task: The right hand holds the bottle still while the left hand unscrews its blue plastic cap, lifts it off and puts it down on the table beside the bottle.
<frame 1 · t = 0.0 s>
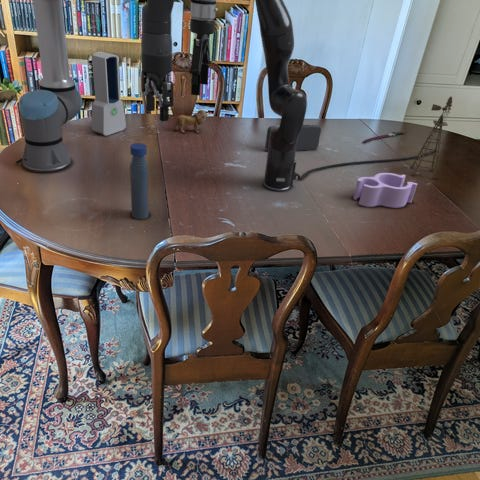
left hand: (199, 89, 153), 28 cm above the table, tool pointing down, fingers open, 13 cm apart
right hand: (157, 115, 124), 29 cm above the table, tool pointing down, fingers open, 8 cm apart
miniature windmill: (422, 173, 183), on the table
bottle: (140, 215, 137), on the table
lion figurine: (189, 131, 199), on the table
electronic device: (108, 131, 190), on the table
handheld gaming console: (291, 150, 191), on the table
clip: (381, 199, 160), on the table
cap: (138, 147, 125), point 21 cm above the table, screwed on, not yet turned
sword: (384, 138, 214), on the table
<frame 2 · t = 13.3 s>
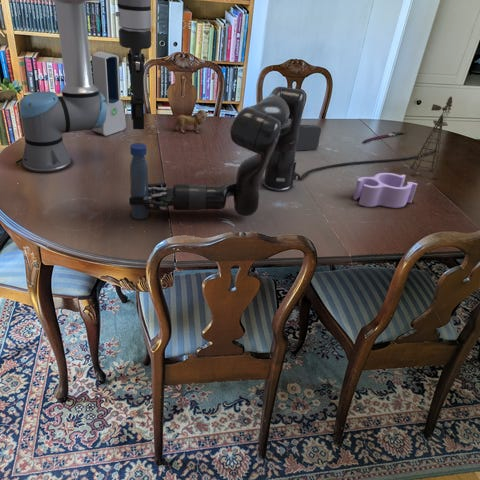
left hand: (137, 123, 122), 28 cm above the table, tool pointing down, fingers open, 6 cm apart
right hand: (130, 196, 133), 6 cm above the table, tool horizontal, fingers closed on bottle, 5 cm apart
bottle: (140, 215, 137), on the table, touching right hand
everything else where it was.
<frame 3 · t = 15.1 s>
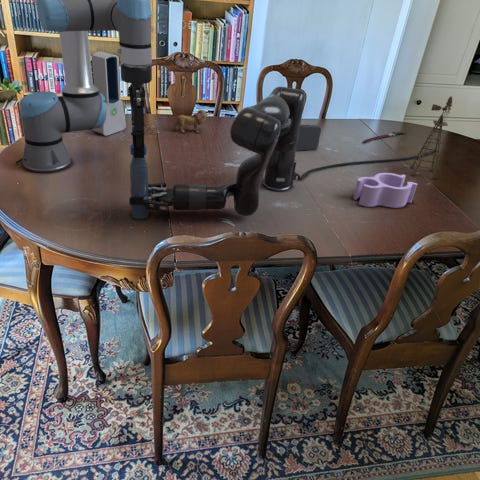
left hand: (138, 153, 127), 19 cm above the table, tool pointing down, fingers closed on cap, 4 cm apart
right hand: (130, 196, 133), 6 cm above the table, tool horizontal, fingers closed on bottle, 5 cm apart
bottle: (140, 215, 137), on the table, touching right hand
cap: (138, 147, 125), point 21 cm above the table, screwed on, not yet turned, touching left hand
everything else where it was.
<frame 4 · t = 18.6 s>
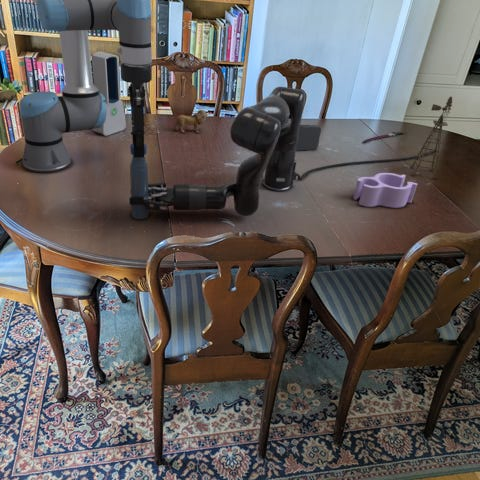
left hand: (138, 153, 126), 19 cm above the table, tool pointing down, fingers closed on cap, 4 cm apart
right hand: (130, 196, 133), 6 cm above the table, tool horizontal, fingers closed on bottle, 5 cm apart
bottle: (140, 215, 137), on the table, touching right hand
cap: (138, 146, 125), point 21 cm above the table, turned 130° so far, risen 0.1 cm, still on its thread, touching left hand
everything else where it was.
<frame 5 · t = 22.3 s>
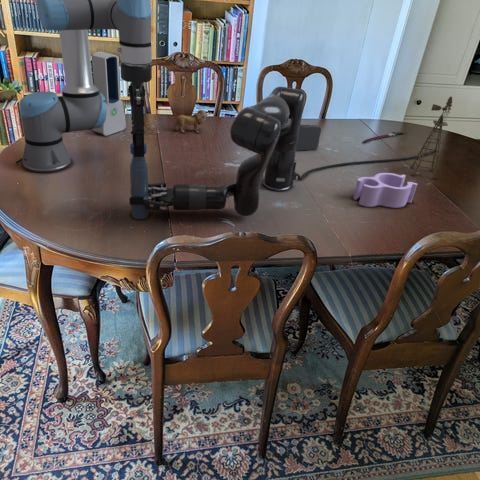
left hand: (138, 152, 126), 20 cm above the table, tool pointing down, fingers closed on cap, 4 cm apart
right hand: (130, 196, 133), 6 cm above the table, tool horizontal, fingers closed on bottle, 5 cm apart
bottle: (140, 215, 137), on the table, touching right hand
cap: (138, 146, 125), point 21 cm above the table, turned 261° so far, risen 0.3 cm, still on its thread, touching left hand
everything else where it was.
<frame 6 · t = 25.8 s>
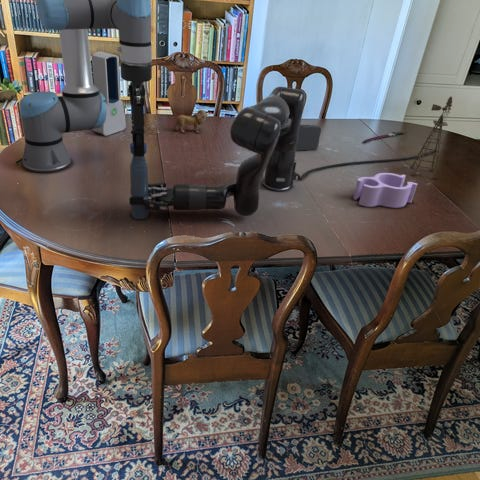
left hand: (138, 152, 126), 20 cm above the table, tool pointing down, fingers closed on cap, 4 cm apart
right hand: (130, 196, 133), 6 cm above the table, tool horizontal, fingers closed on bottle, 5 cm apart
bottle: (140, 215, 137), on the table, touching right hand
cap: (138, 145, 125), point 22 cm above the table, turned 391° so far, risen 0.4 cm, still on its thread, touching left hand
everything else where it was.
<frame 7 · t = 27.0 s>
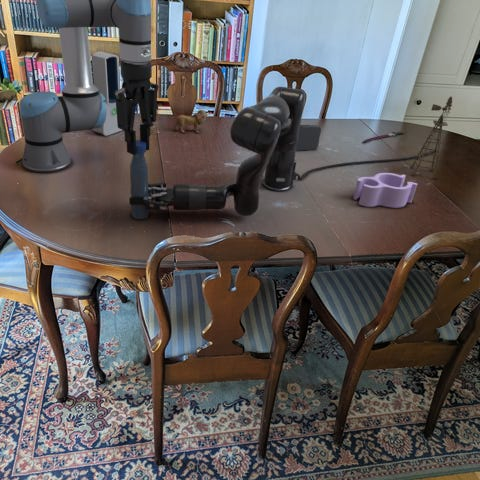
left hand: (138, 150, 126), 20 cm above the table, tool pointing down, fingers closed on cap, 4 cm apart
right hand: (130, 196, 133), 6 cm above the table, tool horizontal, fingers closed on bottle, 5 cm apart
bottle: (140, 215, 137), on the table, touching right hand
cap: (138, 144, 125), point 22 cm above the table, off its thread, touching left hand
everything else where it was.
when the left hand's fingers open (1 cm above the table, at t = 33.9 s): cap drops 1 cm, point 2 cm above the table.
when the right hand's fingers open (6 cm above the table, at t = 35.1 s): bottle stays where it is, on the table.
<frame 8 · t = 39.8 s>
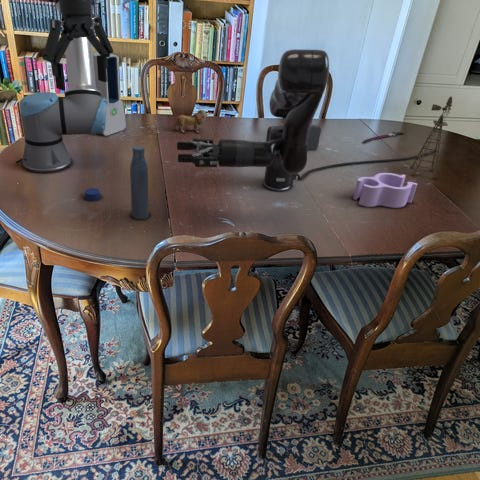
left hand: (82, 85, 125), 34 cm above the table, tool pointing down, fingers open, 13 cm apart
right hand: (177, 151, 128), 20 cm above the table, tool horizontal, fingers open, 8 cm apart
bottle: (140, 215, 137), on the table
cap: (92, 192, 142), point 2 cm above the table, off its thread
everything else where it was.
at the end: cap came off its thread; cap point 1.8 cm above the table; the left hand is holding nothing; the right hand is holding nothing; bottle tilted 0°; bottle moved 0.0 cm from its start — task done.
